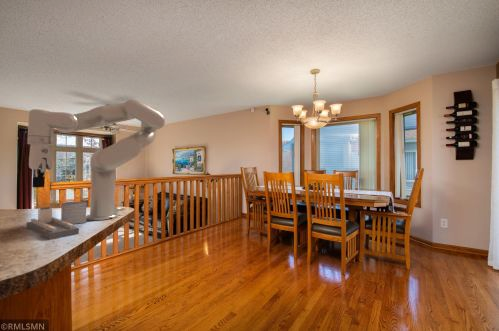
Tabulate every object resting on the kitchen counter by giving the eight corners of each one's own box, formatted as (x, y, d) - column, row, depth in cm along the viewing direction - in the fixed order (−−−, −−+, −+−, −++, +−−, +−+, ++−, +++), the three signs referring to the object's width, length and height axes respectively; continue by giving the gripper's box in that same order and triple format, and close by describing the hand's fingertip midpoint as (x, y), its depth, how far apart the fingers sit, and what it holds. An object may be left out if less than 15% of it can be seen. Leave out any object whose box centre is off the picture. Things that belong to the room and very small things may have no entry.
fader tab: (48, 220, 90) (49, 206, 90) (51, 221, 88) (52, 207, 88) (37, 222, 87) (38, 207, 87) (40, 223, 85) (41, 208, 85)
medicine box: (84, 220, 99) (84, 201, 99) (86, 222, 96) (86, 202, 96) (60, 223, 93) (61, 202, 93) (62, 226, 90) (62, 204, 90)
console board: (52, 223, 93) (53, 215, 93) (78, 233, 81) (79, 224, 81) (26, 227, 87) (26, 218, 87) (50, 239, 74) (50, 229, 74)
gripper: (59, 141, 90) (57, 188, 90) (45, 143, 98) (43, 185, 98) (34, 139, 84) (32, 189, 83) (21, 140, 92) (19, 186, 91)
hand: (38, 187), depth 91 cm, fingers closed
